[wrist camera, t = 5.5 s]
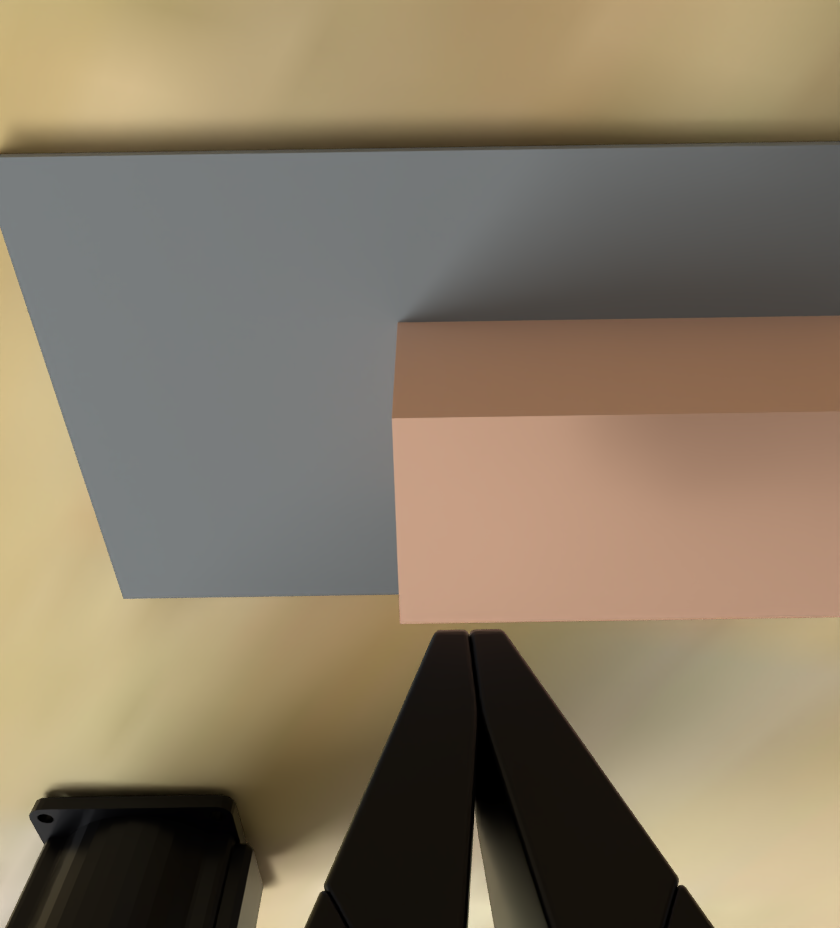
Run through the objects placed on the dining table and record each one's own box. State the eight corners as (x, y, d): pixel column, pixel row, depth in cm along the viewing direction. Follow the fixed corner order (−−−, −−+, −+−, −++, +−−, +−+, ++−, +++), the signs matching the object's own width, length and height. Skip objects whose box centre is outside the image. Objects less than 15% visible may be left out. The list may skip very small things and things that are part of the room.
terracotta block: (399, 624, 11) (919, 615, 11) (392, 418, 9) (1027, 408, 9) (403, 494, 15) (803, 488, 15) (397, 322, 13) (863, 315, 13)
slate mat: (130, 585, 17) (123, 598, 16) (-7, 154, 12) (-24, 157, 11) (758, 575, 17) (767, 588, 16) (903, 140, 12) (921, 143, 11)
